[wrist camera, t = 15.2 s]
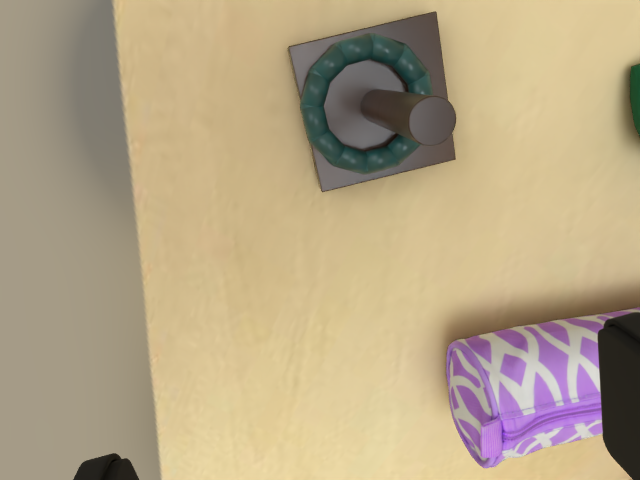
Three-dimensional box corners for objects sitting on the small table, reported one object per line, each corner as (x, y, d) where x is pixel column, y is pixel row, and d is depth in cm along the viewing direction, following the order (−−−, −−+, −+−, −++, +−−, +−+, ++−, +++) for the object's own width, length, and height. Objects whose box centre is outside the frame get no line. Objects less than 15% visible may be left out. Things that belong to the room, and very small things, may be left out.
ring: (318, 184, 31) (320, 189, 30) (286, 55, 28) (286, 54, 27) (438, 152, 31) (446, 155, 30) (417, 20, 29) (424, 18, 27)
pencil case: (705, 269, 38) (839, 329, 29) (692, 370, 41) (810, 452, 32) (429, 319, 37) (479, 397, 28) (437, 418, 40) (484, 517, 31)
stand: (319, 187, 33) (347, 249, 21) (287, 48, 30) (297, 29, 18) (448, 155, 33) (546, 200, 21) (428, 14, 30) (531, -27, 18)
